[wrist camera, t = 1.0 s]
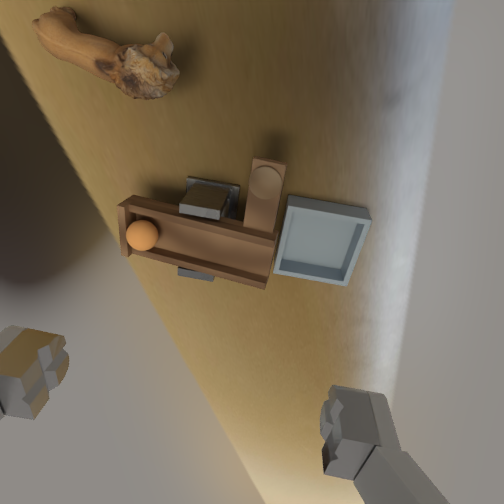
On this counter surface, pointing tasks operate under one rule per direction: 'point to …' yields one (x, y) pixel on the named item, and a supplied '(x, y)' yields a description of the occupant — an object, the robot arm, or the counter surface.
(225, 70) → the counter surface
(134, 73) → the lion figurine
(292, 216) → the tray
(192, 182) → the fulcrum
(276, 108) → the counter surface
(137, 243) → the ball
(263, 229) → the lever
